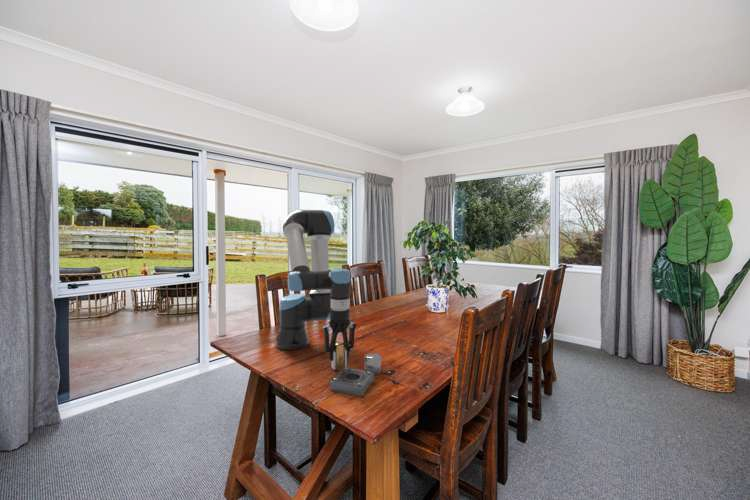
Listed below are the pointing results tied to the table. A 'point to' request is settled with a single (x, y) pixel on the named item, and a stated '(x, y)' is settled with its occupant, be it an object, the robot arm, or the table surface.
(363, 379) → the flange socket
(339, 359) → the brass peg
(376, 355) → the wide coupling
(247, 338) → the table surface
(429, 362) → the table surface
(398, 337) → the table surface
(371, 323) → the table surface
